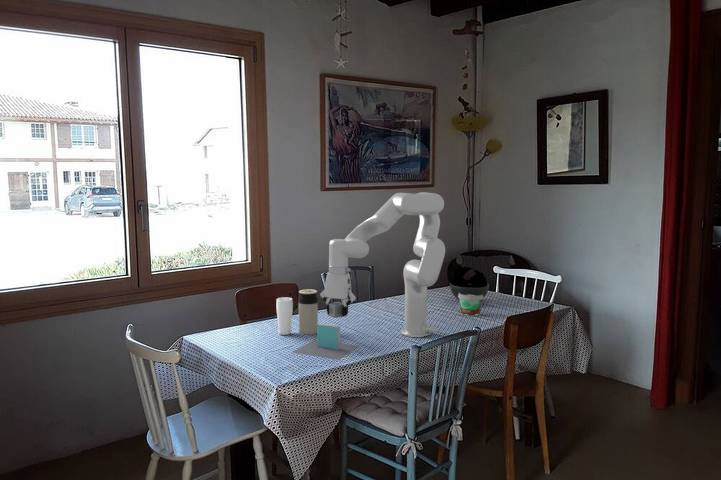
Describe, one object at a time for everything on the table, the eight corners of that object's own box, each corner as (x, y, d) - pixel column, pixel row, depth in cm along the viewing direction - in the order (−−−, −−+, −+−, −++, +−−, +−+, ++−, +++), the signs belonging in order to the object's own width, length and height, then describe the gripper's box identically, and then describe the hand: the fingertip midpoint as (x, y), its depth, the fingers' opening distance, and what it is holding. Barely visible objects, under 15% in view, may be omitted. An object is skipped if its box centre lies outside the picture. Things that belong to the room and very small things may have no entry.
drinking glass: (279, 336, 244) (279, 301, 242) (274, 332, 250) (274, 298, 248) (295, 334, 248) (294, 299, 246) (289, 330, 253) (289, 296, 252)
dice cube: (334, 318, 232) (334, 305, 231) (327, 315, 236) (327, 303, 235) (345, 316, 235) (345, 304, 234) (338, 313, 239) (338, 301, 238)
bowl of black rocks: (449, 298, 318) (450, 263, 315) (486, 299, 315) (488, 264, 312) (449, 306, 298) (450, 270, 296) (489, 308, 295) (491, 271, 293)
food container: (454, 315, 282) (455, 294, 280) (457, 312, 287) (458, 292, 286) (480, 317, 277) (481, 297, 276) (483, 314, 283) (483, 294, 281)
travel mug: (310, 336, 246) (310, 293, 243) (295, 333, 250) (294, 291, 248) (321, 331, 252) (321, 290, 250) (306, 328, 257) (306, 288, 254)
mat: (359, 346, 232) (359, 345, 232) (339, 360, 215) (339, 359, 215) (314, 340, 240) (314, 339, 240) (291, 353, 223) (291, 352, 223)
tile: (340, 348, 228) (340, 325, 227) (337, 349, 226) (337, 327, 225) (319, 345, 232) (319, 323, 231) (317, 346, 230) (317, 324, 229)
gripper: (361, 271, 233) (360, 315, 235) (323, 267, 240) (322, 310, 242) (354, 273, 226) (352, 319, 228) (314, 269, 233) (313, 314, 235)
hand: (337, 314), depth 235 cm, fingers closed on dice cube, 6 cm apart
